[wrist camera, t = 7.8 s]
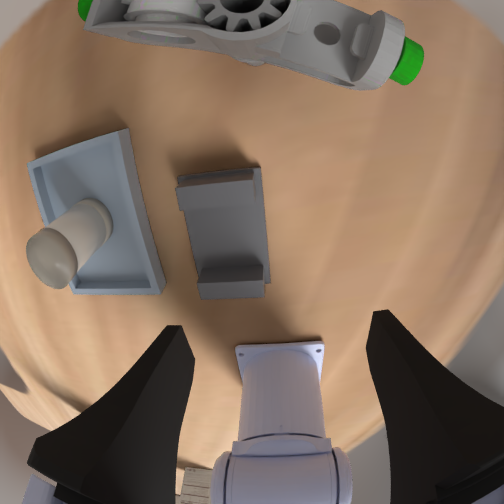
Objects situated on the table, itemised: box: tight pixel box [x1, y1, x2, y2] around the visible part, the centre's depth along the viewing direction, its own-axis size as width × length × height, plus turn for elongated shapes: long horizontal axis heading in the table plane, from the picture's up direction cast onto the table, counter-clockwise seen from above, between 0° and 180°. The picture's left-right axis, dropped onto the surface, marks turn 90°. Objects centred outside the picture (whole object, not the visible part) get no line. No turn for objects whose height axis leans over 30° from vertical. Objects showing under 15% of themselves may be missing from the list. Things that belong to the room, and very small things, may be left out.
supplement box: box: [179, 467, 213, 504], centre depth 45 cm, size 7×7×13 cm
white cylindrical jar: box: [26, 198, 113, 289], centre depth 16 cm, size 4×4×6 cm
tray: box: [27, 128, 167, 295], centre depth 18 cm, size 12×9×2 cm
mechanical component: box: [78, 0, 424, 90], centre depth 9 cm, size 3×10×10 cm, turn 75°
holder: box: [175, 167, 271, 300], centre depth 18 cm, size 8×5×2 cm, turn 6°
